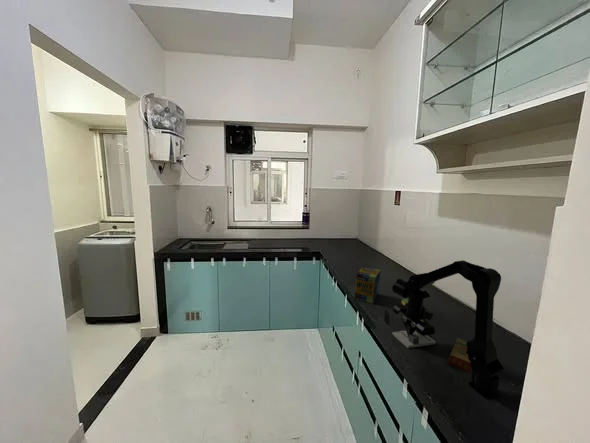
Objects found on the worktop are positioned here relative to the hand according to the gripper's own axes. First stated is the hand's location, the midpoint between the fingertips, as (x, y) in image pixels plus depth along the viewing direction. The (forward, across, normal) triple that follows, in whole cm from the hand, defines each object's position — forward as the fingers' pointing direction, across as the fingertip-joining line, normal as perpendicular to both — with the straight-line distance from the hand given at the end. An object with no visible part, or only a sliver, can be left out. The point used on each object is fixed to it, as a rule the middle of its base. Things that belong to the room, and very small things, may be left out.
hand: (409, 337), depth 114 cm
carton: (+2, -15, -14) cm, 20 cm away
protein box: (+4, +43, -6) cm, 43 cm away
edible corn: (+3, +21, -18) cm, 28 cm away
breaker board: (+2, +1, -3) cm, 4 cm away
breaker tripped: (0, -3, 0) cm, 3 cm away
